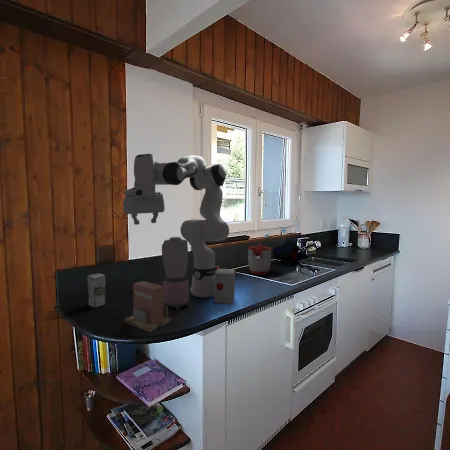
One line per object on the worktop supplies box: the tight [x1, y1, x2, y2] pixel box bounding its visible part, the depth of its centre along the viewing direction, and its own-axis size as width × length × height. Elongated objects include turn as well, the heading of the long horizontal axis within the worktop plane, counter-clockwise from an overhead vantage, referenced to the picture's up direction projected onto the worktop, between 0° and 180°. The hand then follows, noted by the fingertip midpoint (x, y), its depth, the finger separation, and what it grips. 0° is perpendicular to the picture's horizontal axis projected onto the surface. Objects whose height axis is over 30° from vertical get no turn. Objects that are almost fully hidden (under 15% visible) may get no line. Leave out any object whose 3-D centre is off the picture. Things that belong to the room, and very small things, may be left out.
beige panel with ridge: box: [123, 305, 173, 333], centre depth 122 cm, size 12×15×6 cm
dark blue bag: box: [272, 239, 309, 267], centre depth 226 cm, size 21×26×30 cm
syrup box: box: [87, 273, 107, 309], centre depth 140 cm, size 6×6×14 cm
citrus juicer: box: [247, 243, 272, 276], centre depth 201 cm, size 16×17×20 cm
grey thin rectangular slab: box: [132, 307, 148, 325], centre depth 119 cm, size 1×7×5 cm, turn 56°
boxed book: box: [132, 280, 164, 324], centre depth 122 cm, size 5×12×14 cm, turn 56°
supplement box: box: [214, 268, 236, 305], centre depth 148 cm, size 9×9×15 cm
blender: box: [161, 236, 190, 310], centre depth 142 cm, size 16×12×32 cm
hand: (145, 223), depth 131 cm, fingers open, 8 cm apart
